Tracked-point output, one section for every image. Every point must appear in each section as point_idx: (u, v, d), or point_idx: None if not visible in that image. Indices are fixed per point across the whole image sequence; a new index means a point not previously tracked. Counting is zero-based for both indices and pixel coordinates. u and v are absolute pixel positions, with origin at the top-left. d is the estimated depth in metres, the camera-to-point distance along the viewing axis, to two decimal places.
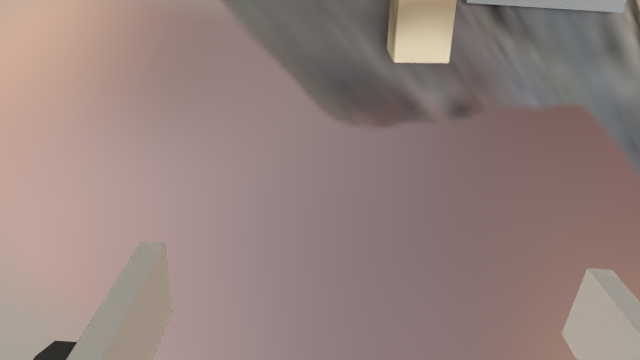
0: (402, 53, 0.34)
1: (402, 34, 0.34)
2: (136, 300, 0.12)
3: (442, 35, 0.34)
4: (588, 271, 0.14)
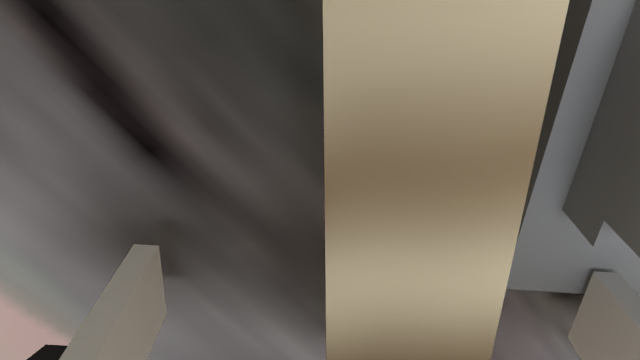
0: None
1: None
2: (128, 303, 0.12)
3: None
4: (594, 274, 0.14)
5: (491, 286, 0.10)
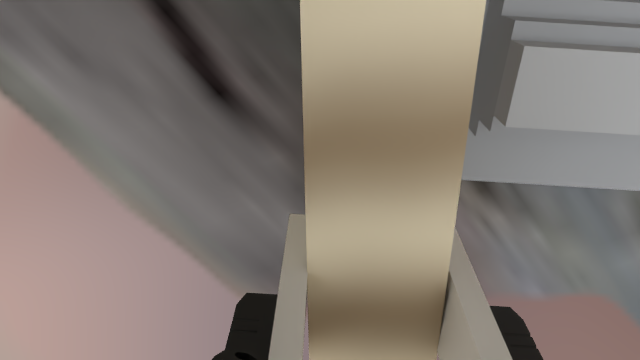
0: None
1: None
2: None
3: None
4: None
5: (440, 238, 0.13)
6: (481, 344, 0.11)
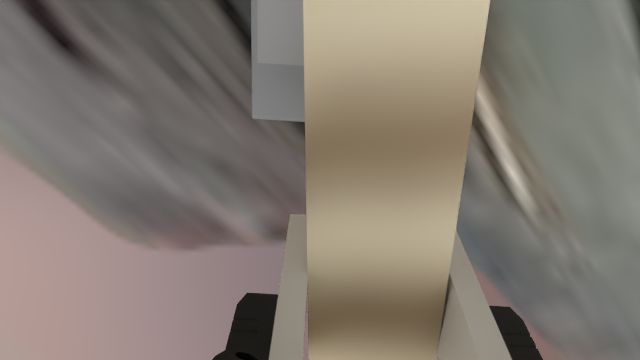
0: None
1: None
2: None
3: None
4: None
5: (441, 239, 0.13)
6: (480, 344, 0.11)
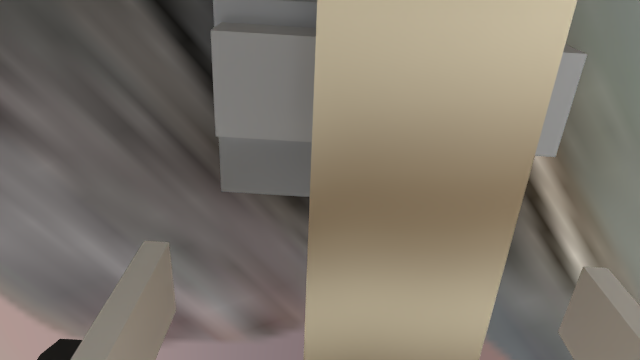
0: None
1: None
2: (140, 298, 0.12)
3: None
4: (584, 269, 0.14)
5: (473, 322, 0.10)
6: None
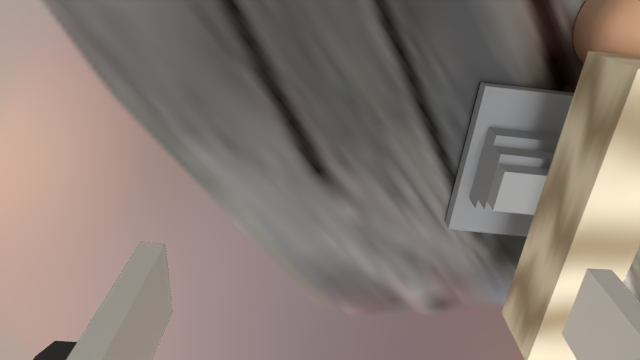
0: (537, 356, 0.32)
1: (541, 341, 0.31)
2: (136, 300, 0.12)
3: None
4: (588, 271, 0.14)
5: None
6: None
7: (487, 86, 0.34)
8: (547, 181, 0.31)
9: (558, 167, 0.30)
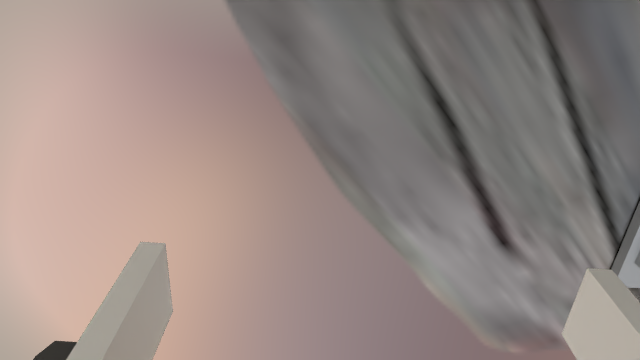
0: None
1: None
2: (136, 300, 0.12)
3: None
4: (587, 271, 0.14)
5: None
6: None
7: None
8: None
9: None
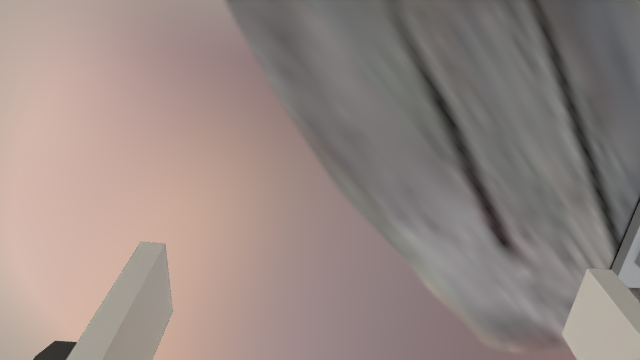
0: None
1: None
2: (136, 300, 0.12)
3: None
4: (588, 271, 0.14)
5: None
6: None
7: None
8: None
9: None
